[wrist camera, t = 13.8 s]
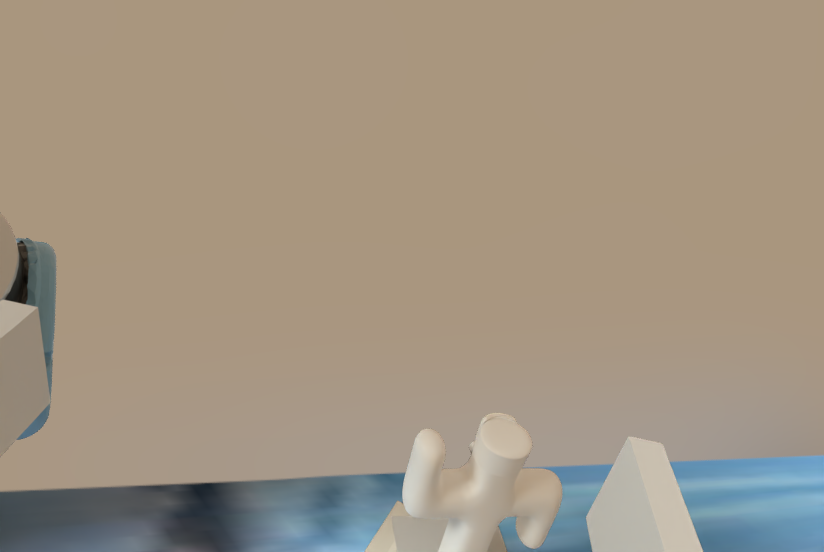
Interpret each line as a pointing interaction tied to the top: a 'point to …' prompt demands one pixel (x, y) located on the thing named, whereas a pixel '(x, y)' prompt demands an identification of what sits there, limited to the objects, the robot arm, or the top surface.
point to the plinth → (387, 532)
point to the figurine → (475, 493)
